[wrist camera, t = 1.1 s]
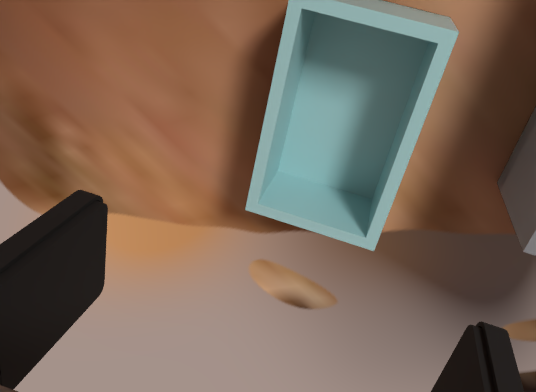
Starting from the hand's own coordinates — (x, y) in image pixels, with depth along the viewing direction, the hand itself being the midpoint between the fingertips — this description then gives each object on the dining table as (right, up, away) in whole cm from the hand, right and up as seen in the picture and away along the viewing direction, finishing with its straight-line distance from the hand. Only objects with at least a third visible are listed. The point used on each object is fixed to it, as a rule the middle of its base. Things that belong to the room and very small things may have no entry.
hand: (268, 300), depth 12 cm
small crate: (+4, +8, +14) cm, 17 cm away
